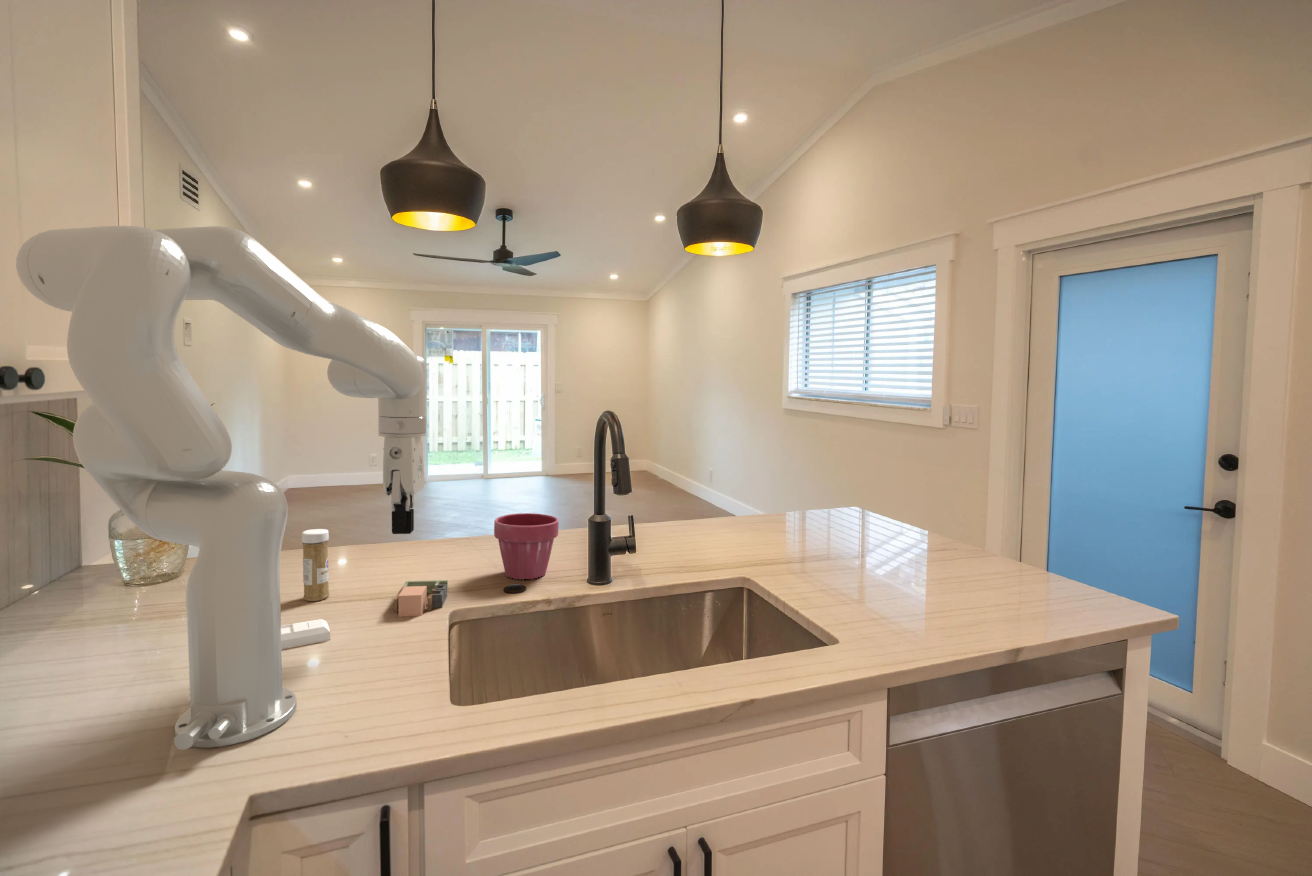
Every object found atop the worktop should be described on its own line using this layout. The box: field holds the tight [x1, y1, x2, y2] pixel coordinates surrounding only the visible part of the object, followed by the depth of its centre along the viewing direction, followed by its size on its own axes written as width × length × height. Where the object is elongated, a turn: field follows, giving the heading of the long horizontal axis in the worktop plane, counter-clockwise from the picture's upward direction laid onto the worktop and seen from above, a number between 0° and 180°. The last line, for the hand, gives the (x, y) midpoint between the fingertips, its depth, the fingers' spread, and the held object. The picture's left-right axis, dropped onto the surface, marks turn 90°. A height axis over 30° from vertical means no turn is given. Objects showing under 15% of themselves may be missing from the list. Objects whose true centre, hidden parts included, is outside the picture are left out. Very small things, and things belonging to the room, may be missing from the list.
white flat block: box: [281, 618, 331, 650], centre depth 99 cm, size 5×9×3 cm, turn 125°
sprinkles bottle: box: [301, 528, 330, 602], centre depth 117 cm, size 5×5×14 cm
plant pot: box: [493, 512, 559, 581], centre depth 137 cm, size 14×14×13 cm
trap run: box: [393, 579, 449, 613], centre depth 118 cm, size 10×8×2 cm
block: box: [398, 586, 428, 617], centre depth 113 cm, size 5×4×4 cm
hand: (402, 532), depth 104 cm, fingers closed
